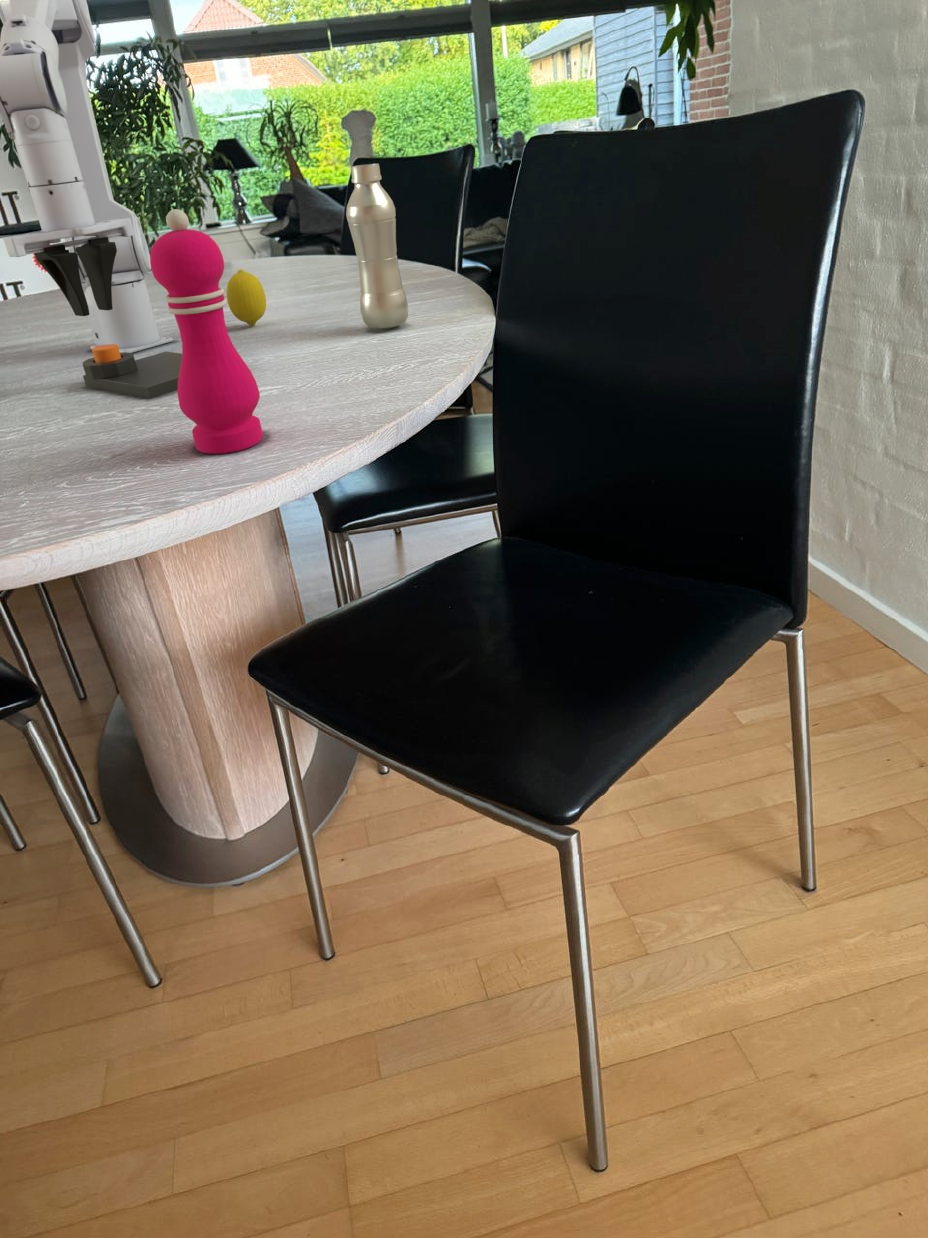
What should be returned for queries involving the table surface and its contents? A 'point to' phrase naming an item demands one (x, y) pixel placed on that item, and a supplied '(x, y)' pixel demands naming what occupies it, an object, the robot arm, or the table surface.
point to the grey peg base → (135, 374)
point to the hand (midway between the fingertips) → (94, 312)
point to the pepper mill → (205, 341)
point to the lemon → (246, 297)
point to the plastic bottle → (376, 250)
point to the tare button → (106, 353)
